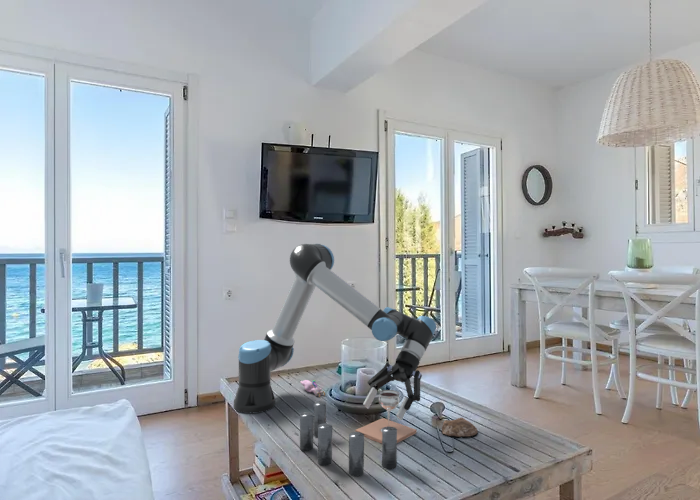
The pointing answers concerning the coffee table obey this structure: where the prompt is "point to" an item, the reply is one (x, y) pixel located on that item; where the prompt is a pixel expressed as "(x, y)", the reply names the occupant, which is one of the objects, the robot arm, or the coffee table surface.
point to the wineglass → (388, 401)
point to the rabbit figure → (312, 387)
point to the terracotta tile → (375, 427)
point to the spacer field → (318, 428)
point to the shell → (459, 428)
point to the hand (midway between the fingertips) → (381, 412)
